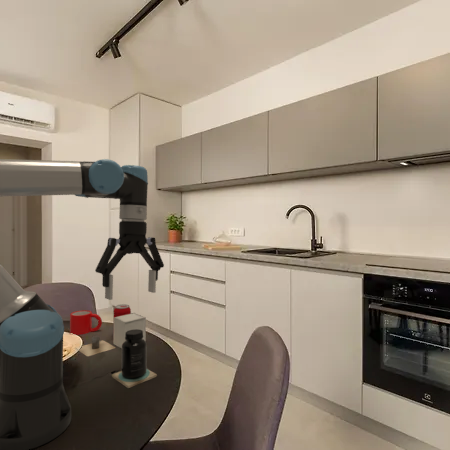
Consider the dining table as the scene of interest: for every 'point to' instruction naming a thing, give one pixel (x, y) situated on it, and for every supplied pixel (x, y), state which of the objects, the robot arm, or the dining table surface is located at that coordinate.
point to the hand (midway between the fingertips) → (131, 295)
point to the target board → (133, 382)
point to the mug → (83, 322)
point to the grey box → (127, 327)
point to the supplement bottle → (134, 355)
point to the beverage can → (121, 312)
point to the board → (95, 351)
